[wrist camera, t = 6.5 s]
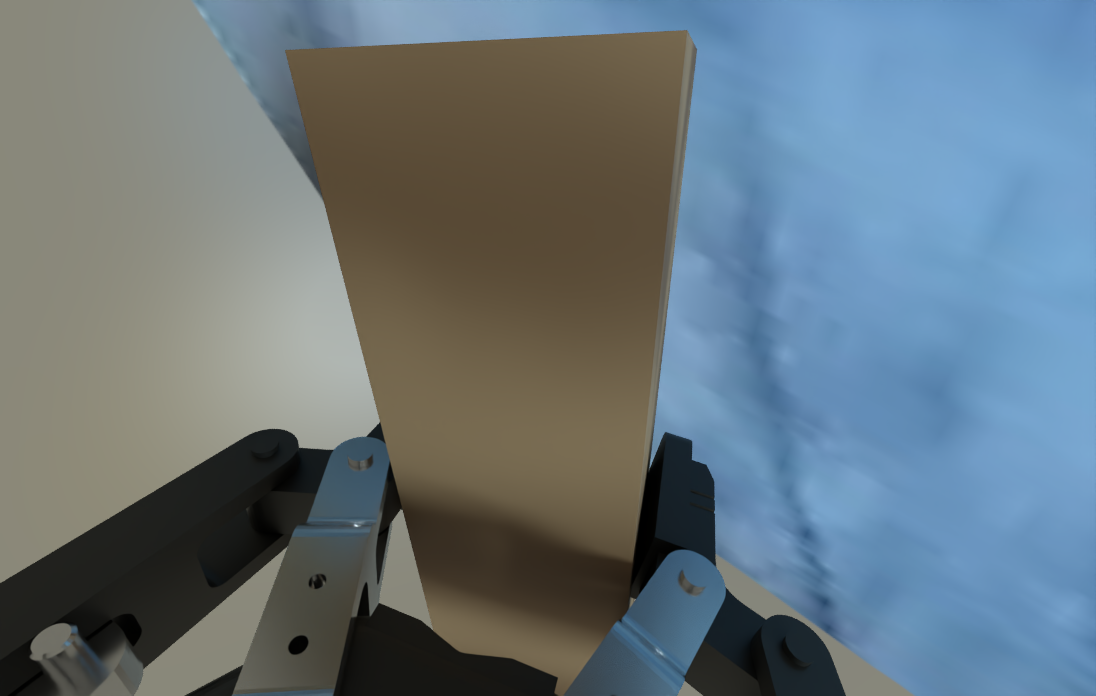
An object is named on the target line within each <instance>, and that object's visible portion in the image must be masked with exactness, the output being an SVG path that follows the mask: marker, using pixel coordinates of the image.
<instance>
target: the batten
mask: <svg viewBox="0 0 1096 696" xmlns="http://www.w3.org/2000/svg"><path fill="white" fill-rule="evenodd" d="M285 52H286V56H287V60H288V63H289V67H290V71H291V75H292V79H293V83H294V87H295V91H296V95H297V99H298V103H299V106H300V110H301V114H302V118H303V122H304V126H305V130H306V134H307V138H308V142H309V146H310V149H311V153H312V157H313V161H314V165H315V169H316V173H317V177H318V181H319V185H320V189H321V192H322V196H323V200H324V204H325V208H326V212H327V216H328V220H329V224H330V228H331V232H332V235H333V239H334V243H335V247H336V251H337V255H338V259H339V263H340V267H341V271H342V275H343V278H344V282H345V286H346V290H347V294H348V298H349V302H350V306H351V310H352V313H353V317H354V321H355V325H356V329H357V333H358V337H359V341H360V345H361V349H362V353H363V356H364V361H365V364H366V368H367V372H368V376H369V380H370V384H371V388H372V391H373V396H374V400H375V404H376V407H377V411H378V415H379V419H380V423H381V427H382V431H383V435H384V439H385V443H386V447H387V450H388V454H389V458H390V462H391V466H392V470H393V474H394V478H395V482H396V486H397V490H398V493H399V497H400V501H401V505H402V509H403V513H404V517H405V521H406V525H407V528H408V533H409V536H410V540H411V544H412V548H413V552H414V556H415V560H416V564H417V568H418V572H419V575H420V579H421V583H422V587H423V591H424V595H425V599H426V602H427V607H428V611H429V615H430V619H431V622H432V626H433V630H434V632H435V633H437V634H438V635H439V636H440V637H442V638H443V639H444V640H445V641H446V642H448V643H449V644H450V645H451V646H452V647H454V648H455V649H456V650H458V651H460V652H462V653H468V654H477V655H486V656H495V657H504V658H512V659H515V660H517V661H520V662H522V663H524V664H527V665H529V666H532V667H534V668H536V669H539V670H541V671H544V672H546V673H548V674H551V675H553V676H556V677H558V680H557V684H556V688H555V692H554V693H556V694H557V695H558V696H563V695H564V694H565V692H566V691H567V690H568V688H569V687H570V685H571V684H572V683H573V681H574V680H575V678H576V677H577V676H578V674H579V673H580V671H581V670H582V669H583V667H584V666H585V665H586V663H587V662H588V660H589V659H590V658H591V656H592V655H593V653H594V652H595V651H596V649H597V648H598V646H599V645H600V644H601V642H602V641H603V640H604V638H605V637H606V635H607V634H608V633H609V631H610V630H611V628H612V627H613V626H614V625H615V623H616V622H617V621H618V620H619V619H620V620H621V619H622V618H623V617H624V615H625V614H626V613H627V611H628V610H629V608H630V607H631V606H632V604H633V603H634V600H635V599H634V598H631V597H630V596H631V587H632V580H633V573H634V566H635V560H636V553H637V546H638V540H639V533H640V526H641V519H642V513H643V506H644V499H645V492H646V486H647V479H648V472H649V468H650V459H651V450H652V441H653V432H654V424H655V415H656V406H657V397H658V388H659V379H660V371H661V362H662V353H663V344H664V335H665V327H666V318H667V309H668V300H669V291H670V282H671V274H672V265H673V256H674V247H675V238H676V229H677V221H678V212H679V203H680V194H681V185H682V177H683V168H684V159H685V150H686V141H687V132H688V124H689V115H690V106H691V97H692V88H693V79H694V71H695V62H696V53H697V49H696V47H695V45H694V43H693V41H692V39H691V37H690V35H689V33H688V31H687V30H683V31H663V32H642V33H622V34H602V35H582V36H562V37H541V38H521V39H501V40H481V41H461V42H440V43H420V44H400V45H380V46H360V47H340V48H319V49H299V50H285Z"/></svg>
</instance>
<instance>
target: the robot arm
mask: <svg viewBox="0 0 1096 696" xmlns="http://www.w3.org/2000/svg"><path fill="white" fill-rule="evenodd" d="M400 509H401V510H403V509H402V505H401V501H400V497H399V493H398V490H397V486H396V482H395V478H394V474H393V470H392V466H391V462H390V458H389V454H388V450H387V447H386V443H385V439H384V435H383V431H382V427H381V423H379V424H378V425H377V426H376V427H375V428H374V429H373V430H372V431H371V432H370V433H369V434H368V435H367V436H366V437H357V438H353V439H350V440H347V441H345V442H343V443H341V444H340V445H339V446H337V447H336V448H335V449H334V450H322V449H308V448H299V445H298V440H297V438H296V437H295V436H294V435H293V434H292V433H290V432H288V431H285V430H281V429H267V430H262V431H258V432H255V433H252V434H250V435H248V436H246V437H244V438H243V439H241V440H239V441H238V442H236V443H235V444H233V445H231V446H229V447H228V448H226V449H224V450H223V451H221V452H219V453H218V454H216V455H214V456H213V457H211V458H209V459H208V460H206V461H204V462H203V463H201V464H199V465H197V466H196V467H194V468H192V469H191V470H189V471H187V472H186V473H184V474H182V475H181V476H179V477H178V478H176V479H174V480H172V481H171V482H169V483H167V484H166V485H164V486H162V487H161V488H159V489H157V490H156V491H154V492H152V493H151V494H149V495H147V496H146V497H144V498H142V499H141V500H139V501H137V502H136V503H134V504H132V505H131V506H129V507H127V508H126V509H124V510H122V511H121V512H119V513H117V514H116V515H114V516H112V517H111V518H109V519H107V520H106V521H104V522H102V523H100V524H99V525H97V526H96V527H94V528H92V529H90V530H89V531H87V532H85V533H84V534H82V535H80V536H79V537H77V538H75V539H74V540H72V541H70V542H69V543H67V544H65V545H64V546H62V547H60V548H59V549H57V550H55V551H54V552H52V553H51V554H49V555H47V556H45V557H44V558H42V559H40V560H39V561H37V562H35V563H34V564H32V565H30V566H28V567H27V568H25V569H23V570H22V571H20V572H18V573H17V574H15V575H13V576H12V577H10V578H8V579H7V580H5V581H4V582H2V583H0V696H134V694H135V693H136V691H137V689H138V687H139V685H140V683H141V680H142V676H143V669H144V668H145V667H146V666H148V665H149V664H150V663H151V662H152V661H154V660H155V659H156V658H157V657H158V656H159V655H160V654H162V653H163V652H164V651H165V650H166V649H168V648H169V647H170V646H171V645H172V644H173V643H175V642H176V641H177V640H178V639H179V638H180V637H182V636H183V635H184V634H185V633H186V632H187V631H189V629H191V628H192V627H193V626H194V625H196V624H197V623H198V622H199V621H200V620H201V619H203V618H204V617H205V616H206V615H207V614H208V613H210V612H211V611H212V610H213V609H215V608H216V607H217V606H218V605H219V604H220V603H222V602H223V601H224V600H225V599H226V598H227V597H229V596H230V595H231V594H232V593H233V592H234V591H236V590H237V589H238V588H239V587H240V586H241V585H243V584H244V583H245V582H246V581H247V580H248V579H250V578H251V577H252V576H253V575H254V574H255V573H256V572H258V571H259V570H260V569H261V568H263V567H264V566H265V565H266V564H267V563H268V562H270V561H271V560H272V559H273V558H274V557H275V556H277V555H278V554H279V553H280V552H281V551H282V550H283V549H285V548H286V547H287V546H288V547H287V550H286V553H285V555H284V558H283V561H282V563H281V566H280V569H279V572H278V574H277V577H276V579H275V582H274V585H273V588H272V590H271V593H270V595H269V598H268V601H267V603H266V606H265V609H264V611H263V614H262V617H261V620H260V622H259V625H258V628H257V630H256V633H255V636H254V638H253V641H252V643H251V646H250V649H249V651H248V654H247V657H246V659H245V662H244V665H242V666H240V667H238V668H236V669H234V670H233V671H230V672H229V673H227V674H225V675H223V676H221V677H219V678H217V679H215V680H213V681H212V682H210V683H208V684H206V685H204V686H202V687H200V688H198V689H197V690H195V691H193V692H191V693H189V694H187V695H185V696H558V695H557V694H556V693H554V692H555V688H556V684H557V680H558V677H556V676H553V675H551V674H548V673H546V672H544V671H541V670H539V669H536V668H534V667H532V666H529V665H527V664H524V663H522V662H520V661H517V660H515V659H512V658H504V657H495V656H486V655H477V654H468V653H462V652H460V651H458V650H456V649H455V648H454V647H452V646H451V645H450V644H449V643H448V642H446V641H445V640H444V639H443V638H442V637H440V636H439V635H438V634H437V633H435V632H434V631H433V630H432V629H431V628H429V627H428V626H427V625H426V624H424V623H423V622H422V621H421V620H418V619H416V618H414V617H411V616H409V615H407V614H404V613H402V612H399V611H397V610H395V609H392V608H390V607H387V606H385V605H382V604H380V603H379V598H380V591H381V585H382V580H383V574H384V569H385V562H386V558H387V552H388V546H389V541H390V535H391V530H392V521H393V519H394V518H395V516H396V515H397V514H398V512H399V511H400ZM714 511H715V500H714V480H713V478H712V476H711V474H710V471H709V469H708V467H707V465H705V464H702V463H699V462H696V461H693V460H692V440H689V439H686V438H683V437H679V436H676V435H673V434H670V433H667V432H665V434H664V435H663V438H662V440H661V442H660V445H659V447H658V450H657V452H656V455H655V457H654V460H653V462H652V465H651V467H650V469H649V472H648V479H647V486H646V492H645V499H644V506H643V513H642V519H641V526H640V533H639V540H638V546H637V553H636V560H635V566H634V573H633V580H632V587H631V596H630V597H631V598H634V599H636V600H635V601H634V603H633V604H632V606H631V607H630V608H629V610H628V611H627V613H626V614H625V615H624V617H623V618H622V619H621V620H620V619H619V620H618V621H617V622H616V623H615V625H614V626H613V627H612V628H611V630H610V631H609V633H608V634H607V635H606V637H605V638H604V640H603V641H602V642H601V644H600V645H599V646H598V648H597V649H596V651H595V652H594V653H593V655H592V656H591V658H590V659H589V660H588V662H587V663H586V665H585V666H584V667H583V669H582V670H581V671H580V673H579V674H578V676H577V677H576V678H575V680H574V681H573V683H572V684H571V685H570V687H569V688H568V690H567V691H566V692H565V694H564V695H563V696H677V695H678V693H679V691H680V689H681V687H682V685H683V683H684V681H686V682H687V683H688V684H690V685H691V686H692V687H693V688H695V689H696V690H697V691H698V692H699V693H701V694H702V695H703V696H846V695H845V692H844V690H843V687H842V684H841V682H840V679H839V676H838V674H837V671H836V668H835V665H834V663H833V660H832V658H831V655H830V653H829V651H828V649H827V647H826V646H825V644H824V643H823V641H822V640H821V639H820V638H819V636H818V635H817V634H816V633H815V632H814V631H813V630H811V629H810V628H809V627H808V626H807V625H805V624H804V623H802V622H800V621H799V620H797V619H795V618H793V617H790V616H786V615H774V616H771V617H770V618H768V619H767V620H765V619H764V618H763V617H761V616H760V615H758V614H757V613H755V612H754V611H753V610H751V609H750V608H748V607H747V606H745V605H744V604H743V603H741V602H740V601H739V600H737V599H736V598H735V597H734V596H733V595H732V594H731V593H730V592H729V591H728V589H727V588H726V587H725V583H724V580H723V578H722V576H721V574H720V572H719V571H718V570H717V568H716V561H715V513H714Z"/></svg>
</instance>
